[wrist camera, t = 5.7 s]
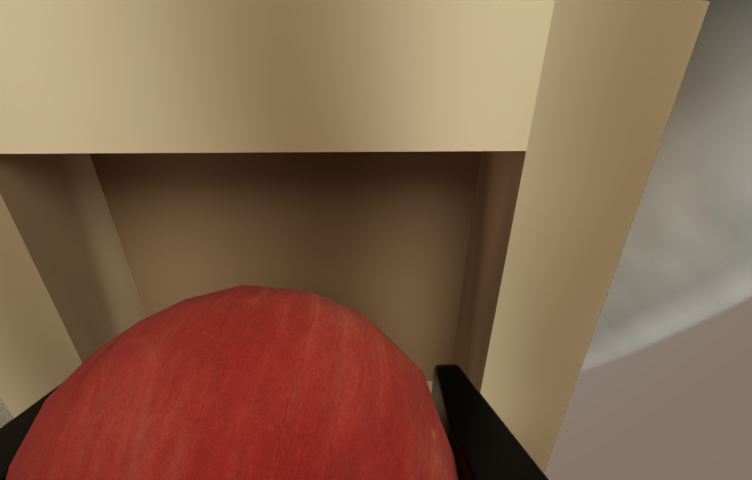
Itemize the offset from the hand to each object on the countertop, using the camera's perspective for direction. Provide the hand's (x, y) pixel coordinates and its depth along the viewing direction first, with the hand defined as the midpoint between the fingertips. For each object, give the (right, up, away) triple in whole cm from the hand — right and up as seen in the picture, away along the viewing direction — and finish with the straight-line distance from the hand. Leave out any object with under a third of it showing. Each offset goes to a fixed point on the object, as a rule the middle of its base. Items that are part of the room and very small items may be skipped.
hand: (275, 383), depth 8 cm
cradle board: (0, +3, +4) cm, 5 cm away
